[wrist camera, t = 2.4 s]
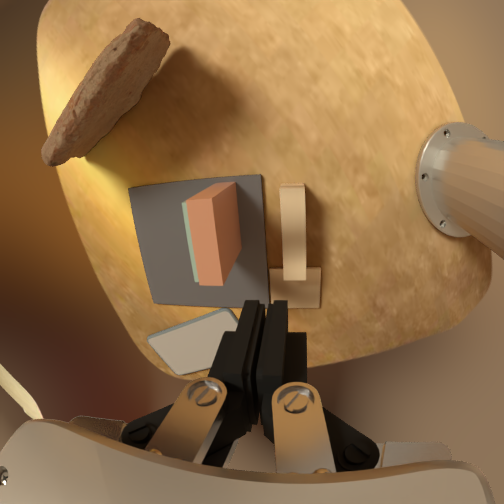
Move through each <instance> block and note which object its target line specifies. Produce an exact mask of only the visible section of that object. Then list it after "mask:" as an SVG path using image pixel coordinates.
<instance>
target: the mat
mask: <svg viewBox="0 0 504 504" xmlns="http://www.w3.org/2000/svg"><path fill="white" fill-rule="evenodd" d="M222 182H236V193H237V203H238V214H239V224H240V234H241V245H242V249H241V251H240V253H239V255H238V257H237V259H236V261H235V263H234V265H233V267H232V269H231V271H230V273H229V275H228V277H227V279H226V281H225V283H224V285H223V286H204V285H199V282H195V280H194V275H193V269H192V264H191V258H190V252H189V246H188V241H187V234H186V228H185V222H184V215H183V208H182V202H184V201H186V200H187V199H189V198H191V197H192V196H194V195H196V194H197V193H199V192H201V191H203V190H204V189H206V188H208V187H210V186H211V185H213V184H215V183H222ZM128 191H129V197H130V202H131V208H132V213H133V219H134V224H135V229H136V234H137V238H138V243H139V247H140V252H141V256H142V260H143V264H144V268H145V272H146V276H147V280H148V284H149V288H150V291H151V295H152V299H153V302H154V303H157V304H171V305H188V306H208V307H235V308H243V305H244V302H245V300H259V301H260V304H265V308H268V304H270V303H269V286H268V270H267V254H266V238H265V224H264V209H263V195H262V181H261V174H260V175H243V176H229V177H217V178H206V179H196V180H186V181H178V182H169V183H161V184H154V185H147V186H140V187H133V188H129V189H128Z"/></svg>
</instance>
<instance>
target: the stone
mask: <svg viewBox="0 0 504 504" xmlns="http://www.w3.org/2000/svg"><path fill="white" fill-rule="evenodd" d="M169 46H170V41H169V35H168V34H166V33H165V32H163V31H162V30H161V29H160V28H157V27H156V26H155V25H154V24H152V23H150V22H146V21H143V20H142V19H140V18H137V19H134V20H133V21H132V22H131V23H130V24H129V25H128V26H127V27H126V29H125V31H124V32H123V33H122V34H120V35H119V36H117V37H116V38H115V39H113V40H112V41H111V43H110V44H109V45H107V46H106V48H105V49H104V50H103V51H102V53H101V54H100V55H99V56H98V57H97V59H96V60H95V61H94V63H93V64H92V66H91V68H90V69H89V71H88V72H87V73H86V75H85V77H84V79H83V81H82V82H81V83H80V84H79V86H78V87H77V89H76V90H75V92H74V93H73V95H72V97H71V98H70V100H69V102H68V104H67V105H66V107H65V108H64V110H63V112H62V114H61V116H60V117H59V119H58V120H57V122H56V124H55V126H54V128H53V130H52V131H51V133H50V135H49V137H48V139H47V140H46V142H45V144H44V146H43V147H42V151H41V152H42V159H43V161H44V162H45V163H46V164H47V165H49V166H52V167H53V166H57V165H61V164H63V163H65V162H66V161H68V160H69V159H70V158H71V157H72V158H73V157H78V158H81V157H83V156H85V155H86V154H87V153H88V152H89V151H90V150H91V148H93V147H94V146H95V145H96V144H97V142H98V141H99V140H100V139H101V138H102V137H104V136H105V135H106V134H108V133H109V132H110V131H111V130H112V128H113V126H114V125H115V124H116V122H117V121H118V120H119V118H120V117H121V116H122V115H123V114H124V113H126V112H127V111H129V110H130V109H131V108H132V107H133V106H135V105H136V104H137V103H138V102H139V100H140V98H141V93H142V91H143V89H144V88H145V86H146V85H147V84H148V82H149V81H150V79H151V78H152V76H153V74H154V73H156V72H157V70H158V68H159V66H160V63H161V61H162V59H163V57H164V56H165V55H166V52H167V50H168V48H169Z"/></svg>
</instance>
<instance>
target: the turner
mask: <svg viewBox="0 0 504 504" xmlns="http://www.w3.org/2000/svg"><path fill="white" fill-rule="evenodd" d="M280 205H281V225H282V248H283V267H277V268H270V269H269V272H270V290H271V304H273V302H274V300H288V308H319V302H320V280H321V267H306V210H305V187H304V183H283V184H281V186H280Z"/></svg>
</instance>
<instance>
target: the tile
mask: <svg viewBox="0 0 504 504" xmlns="http://www.w3.org/2000/svg"><path fill="white" fill-rule="evenodd" d="M182 208H183V215H184V222H185V228H186V234H187V241H188V246H189V252H190V258H191V264H192V269H193V275H194V280H195V282H199V285H204V286H223V285H224V283H225V281H226V279H227V277H228V275H229V273H230V271H231V269H232V267H233V265H234V263H235V261H236V259H237V257H238V255H239V253H240V251H241V249H242V245H241V234H240V224H239V214H238V203H237V193H236V182H222V183H215V184H213V185H211V186H210V187H208V188H206V189H204V190H203V191H201V192H199V193H197V194H196V195H194V196H192V197H191V198H189V199H187V200H186V201H184V202H182Z"/></svg>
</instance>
